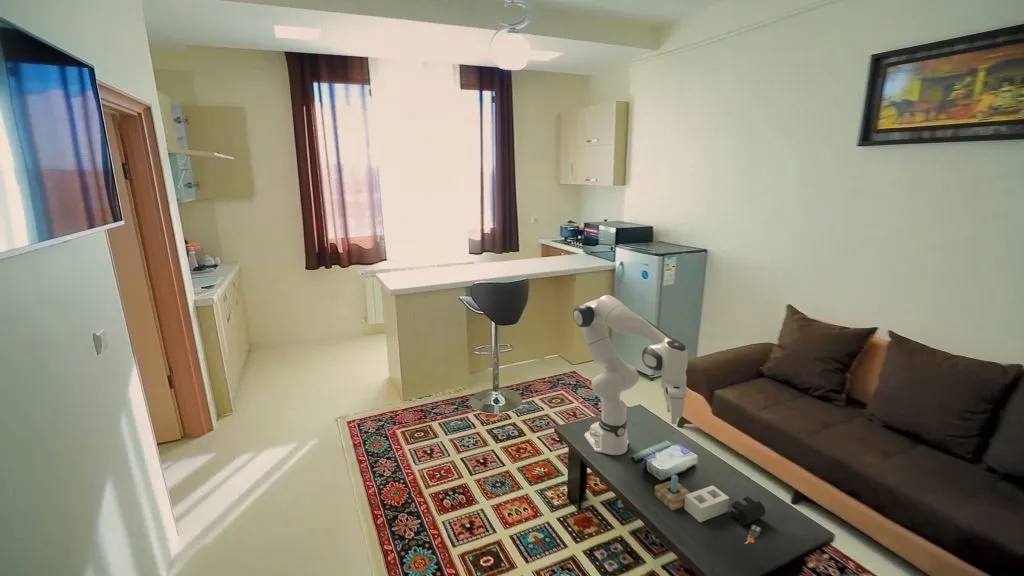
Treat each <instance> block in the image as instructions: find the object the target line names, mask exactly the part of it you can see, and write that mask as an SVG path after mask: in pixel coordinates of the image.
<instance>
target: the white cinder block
mask: <svg viewBox="0 0 1024 576" xmlns="http://www.w3.org/2000/svg"><path fill="white" fill-rule="evenodd" d="M729 504H730V497H729V496H728V495H727V494H725V493H723V492H722V491H721V490H720V489H718V488H717V487H716V486H714V485H710V486H707V487H704V488H701V489H698V490H695V491H693V492H690V494H687V495H685V505H684V507H683V508H684V510H685V511H686V512H687V513H688V514H690V515H691V516H692V518H694V519H696V520H697V521H698V522H699V523H702V522H704V521H706V520H707V521H708V520H709V519H712V518H716V517H718V516H721V515H722V514H725V513H727V512H729V511H728V510H729Z"/></svg>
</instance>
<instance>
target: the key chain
mask: <svg viewBox="0 0 1024 576" xmlns="http://www.w3.org/2000/svg"><path fill="white" fill-rule="evenodd" d="M749 527H750V528H749V531H748V537H747V538H746V540H747V541H746V542H744V544H745V545H746V544H749V543H750V544H754V543H755V540H754V539H756V538H758V537H759V535H760V533H761V532H762V528H761V527H760V526H758V525H756V524H753V523H752V524H751V525H750V526H749Z"/></svg>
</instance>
